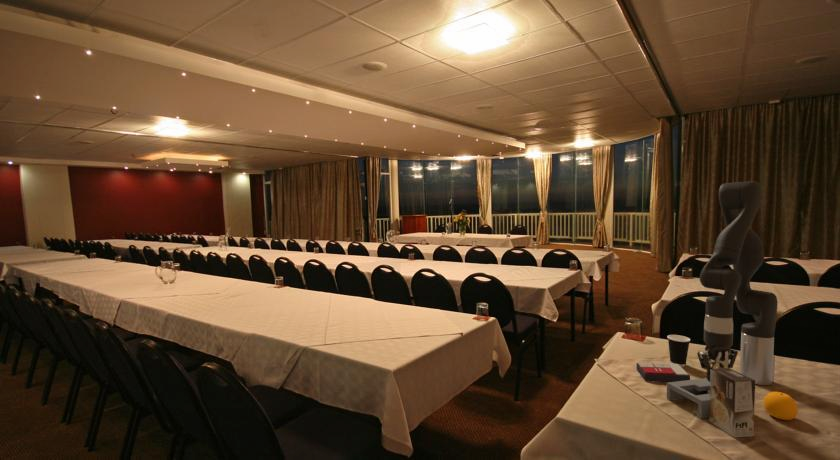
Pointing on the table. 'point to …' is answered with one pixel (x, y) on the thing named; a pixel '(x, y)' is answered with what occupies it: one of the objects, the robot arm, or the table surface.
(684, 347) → the dixie cup
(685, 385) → the keyhole plate
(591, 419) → the table surface
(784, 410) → the orange
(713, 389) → the coffee box
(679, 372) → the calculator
